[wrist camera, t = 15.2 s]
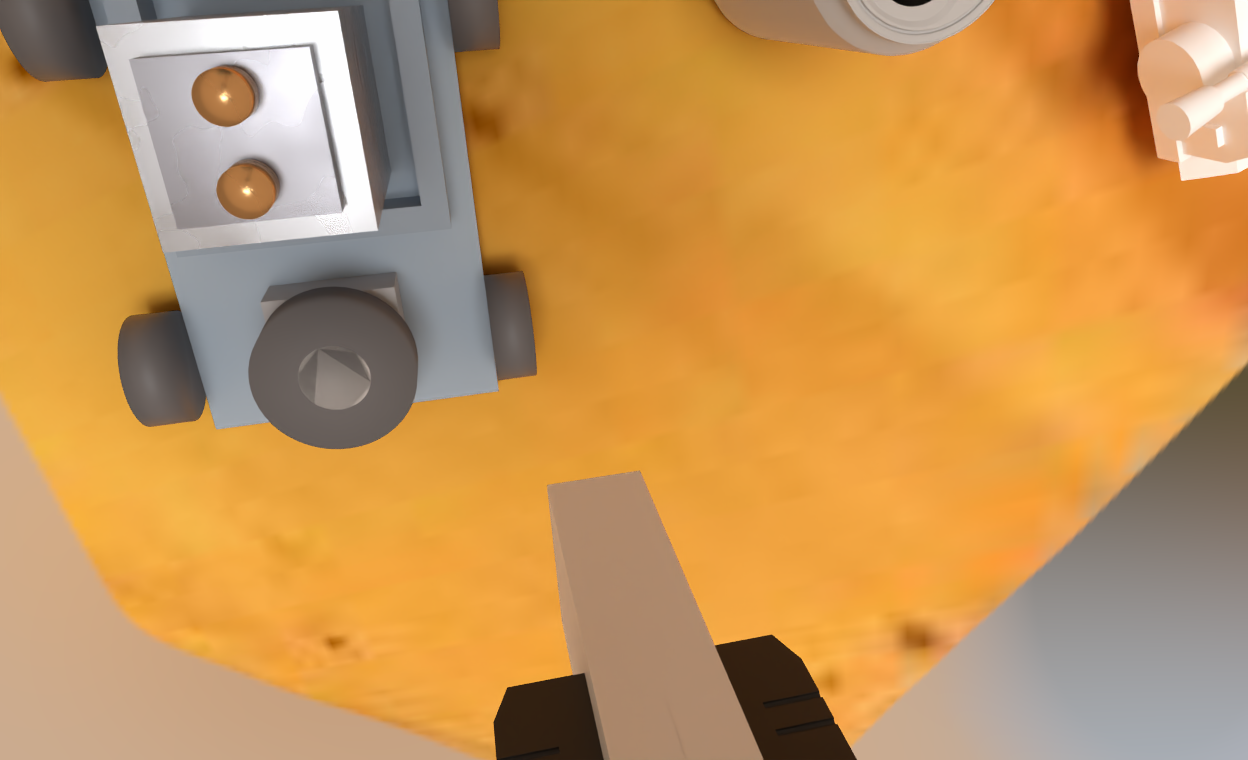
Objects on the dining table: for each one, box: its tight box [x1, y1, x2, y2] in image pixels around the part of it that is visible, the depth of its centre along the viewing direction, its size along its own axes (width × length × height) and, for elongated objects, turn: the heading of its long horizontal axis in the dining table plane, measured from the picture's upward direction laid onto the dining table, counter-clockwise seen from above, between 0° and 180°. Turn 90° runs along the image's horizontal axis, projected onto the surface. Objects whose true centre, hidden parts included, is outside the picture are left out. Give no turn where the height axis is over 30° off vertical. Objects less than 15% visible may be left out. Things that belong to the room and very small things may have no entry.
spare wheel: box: [248, 286, 418, 449], centre depth 33 cm, size 6×6×4 cm
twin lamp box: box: [96, 5, 391, 253], centre depth 27 cm, size 6×6×11 cm
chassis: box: [0, 0, 537, 429], centre depth 32 cm, size 20×15×4 cm
